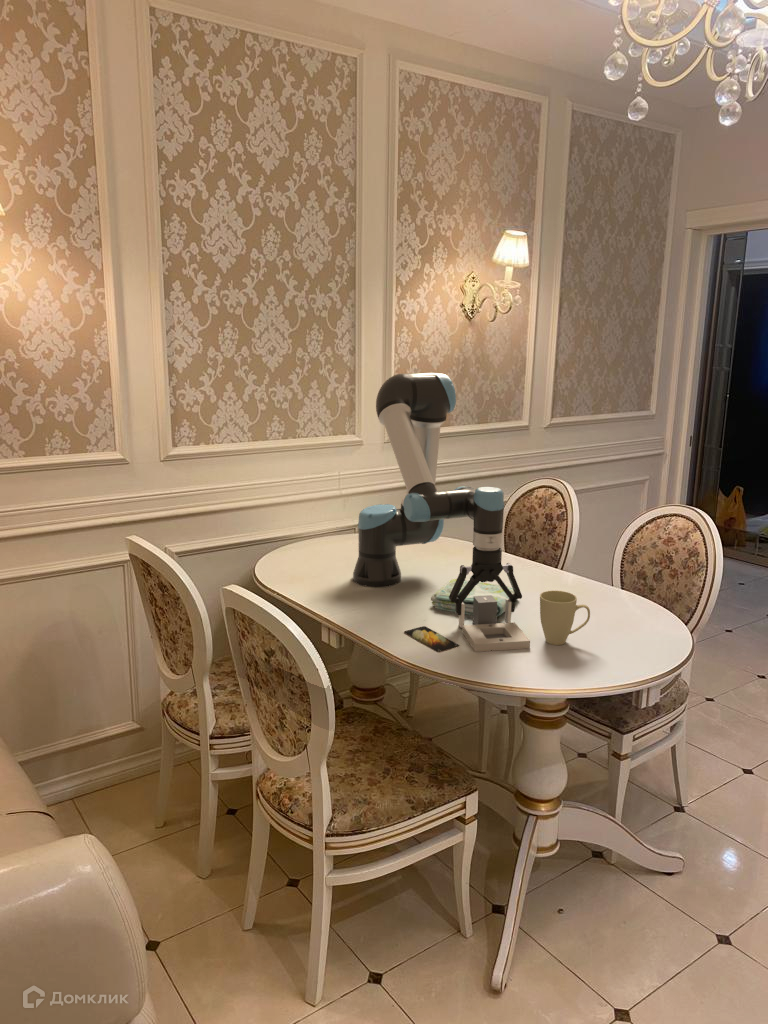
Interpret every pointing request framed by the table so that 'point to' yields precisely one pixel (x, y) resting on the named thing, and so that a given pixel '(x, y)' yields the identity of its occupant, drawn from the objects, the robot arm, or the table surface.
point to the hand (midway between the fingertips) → (484, 624)
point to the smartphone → (431, 639)
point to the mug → (559, 615)
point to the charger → (484, 610)
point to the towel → (470, 596)
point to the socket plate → (495, 637)
